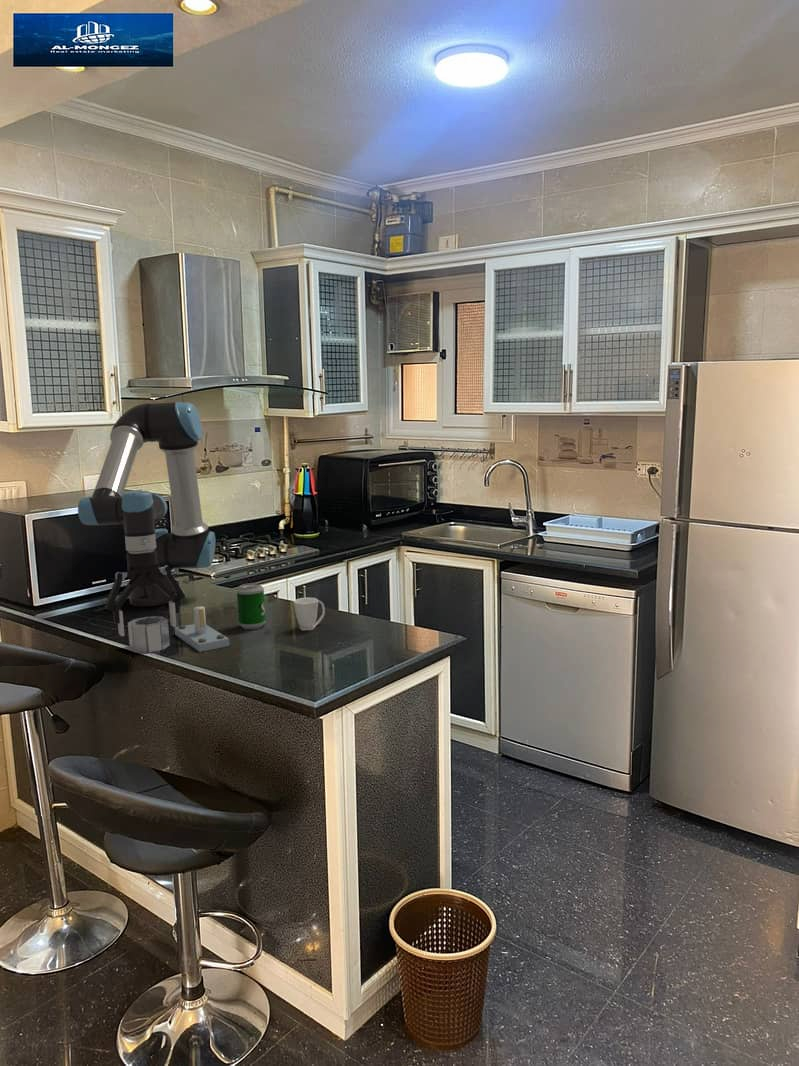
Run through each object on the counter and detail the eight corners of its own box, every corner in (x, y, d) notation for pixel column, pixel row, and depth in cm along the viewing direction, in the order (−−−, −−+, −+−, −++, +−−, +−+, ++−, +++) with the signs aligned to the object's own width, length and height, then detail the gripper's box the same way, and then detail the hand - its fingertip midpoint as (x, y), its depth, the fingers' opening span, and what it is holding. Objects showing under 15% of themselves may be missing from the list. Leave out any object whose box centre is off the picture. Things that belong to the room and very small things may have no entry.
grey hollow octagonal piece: (126, 646, 210) (124, 620, 208) (162, 639, 215) (160, 614, 214) (136, 654, 202) (134, 628, 201) (173, 647, 207) (171, 621, 206)
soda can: (260, 630, 220) (257, 588, 218) (235, 629, 222) (232, 588, 220) (269, 623, 227) (267, 582, 225) (245, 622, 229) (242, 582, 227)
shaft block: (175, 634, 219) (172, 603, 217) (202, 629, 223) (200, 598, 222) (199, 652, 202) (197, 618, 201) (229, 645, 207) (227, 612, 205)
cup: (289, 629, 220) (288, 601, 219) (316, 621, 228) (315, 594, 226) (305, 633, 216) (304, 604, 214) (333, 625, 223) (331, 597, 221)
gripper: (94, 559, 194) (102, 642, 197) (193, 546, 208) (199, 624, 211) (87, 555, 200) (95, 635, 203) (183, 543, 214) (189, 619, 217)
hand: (148, 630), depth 207 cm, fingers open, 13 cm apart
